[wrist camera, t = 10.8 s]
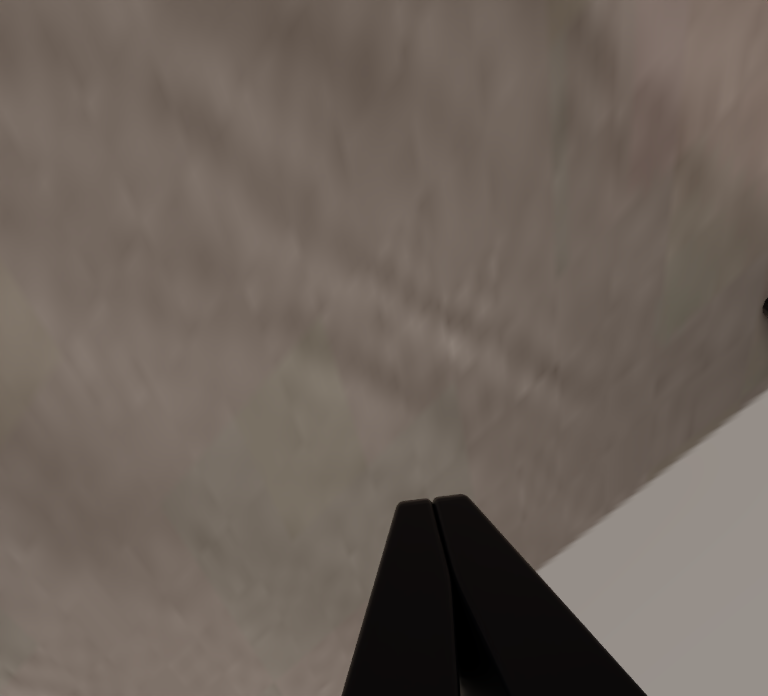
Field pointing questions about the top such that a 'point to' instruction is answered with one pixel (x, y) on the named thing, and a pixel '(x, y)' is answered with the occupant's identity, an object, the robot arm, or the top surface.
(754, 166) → the top surface
